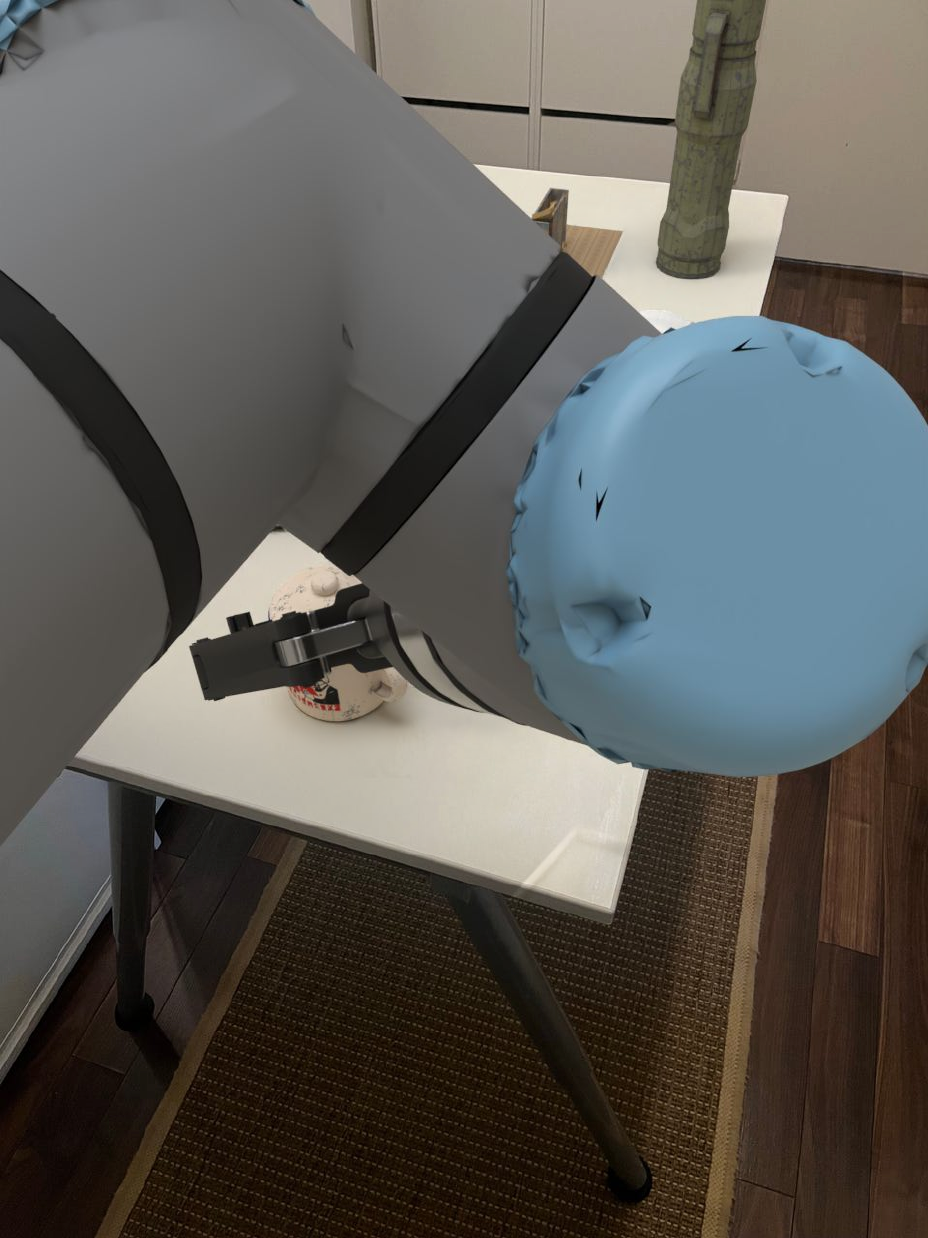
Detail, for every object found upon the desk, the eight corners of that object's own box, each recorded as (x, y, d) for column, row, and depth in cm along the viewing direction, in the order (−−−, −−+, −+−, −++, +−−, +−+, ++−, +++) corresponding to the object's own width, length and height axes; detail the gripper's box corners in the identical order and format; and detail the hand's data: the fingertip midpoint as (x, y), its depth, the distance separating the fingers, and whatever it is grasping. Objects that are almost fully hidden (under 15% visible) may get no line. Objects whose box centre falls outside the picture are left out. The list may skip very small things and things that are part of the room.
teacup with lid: (262, 685, 75) (234, 582, 67) (344, 624, 80) (327, 520, 72) (365, 766, 70) (348, 664, 61) (446, 695, 74) (441, 591, 66)
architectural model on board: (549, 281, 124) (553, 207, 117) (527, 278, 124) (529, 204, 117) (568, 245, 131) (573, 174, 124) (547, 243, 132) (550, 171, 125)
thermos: (646, 278, 124) (688, -37, 99) (664, 242, 131) (707, -60, 106) (712, 288, 121) (772, -32, 96) (727, 251, 129) (786, -55, 104)
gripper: (131, 841, 26) (177, 752, 47) (868, 603, 32) (619, 618, 52) (54, 583, 26) (134, 608, 46) (814, 391, 32) (585, 489, 52)
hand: (392, 613), depth 49 cm, fingers open, 13 cm apart
